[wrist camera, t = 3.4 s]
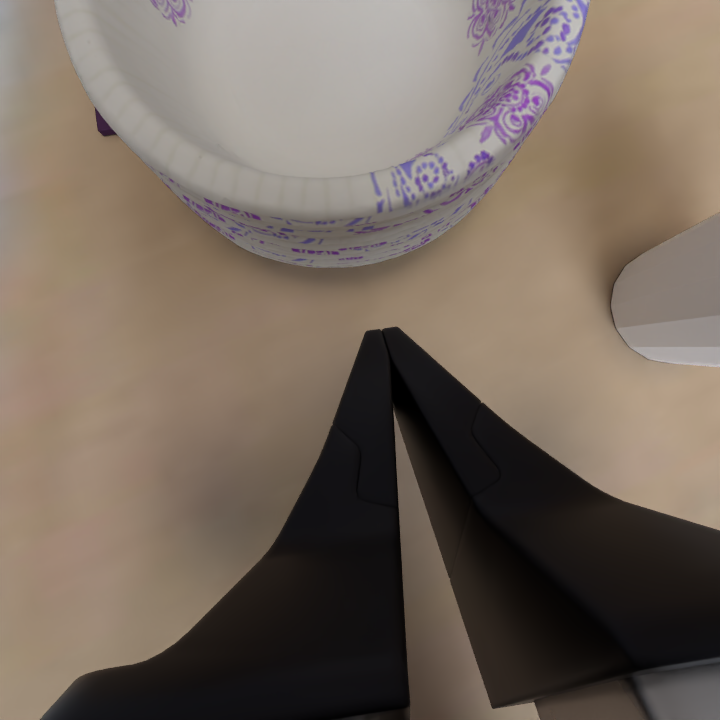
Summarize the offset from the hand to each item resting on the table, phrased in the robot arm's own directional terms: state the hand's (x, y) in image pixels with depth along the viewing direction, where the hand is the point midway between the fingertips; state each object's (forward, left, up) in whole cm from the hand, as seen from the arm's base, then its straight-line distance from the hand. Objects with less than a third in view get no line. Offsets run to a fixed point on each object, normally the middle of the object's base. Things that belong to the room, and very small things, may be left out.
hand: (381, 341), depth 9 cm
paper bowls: (+9, +5, -8) cm, 13 cm away
